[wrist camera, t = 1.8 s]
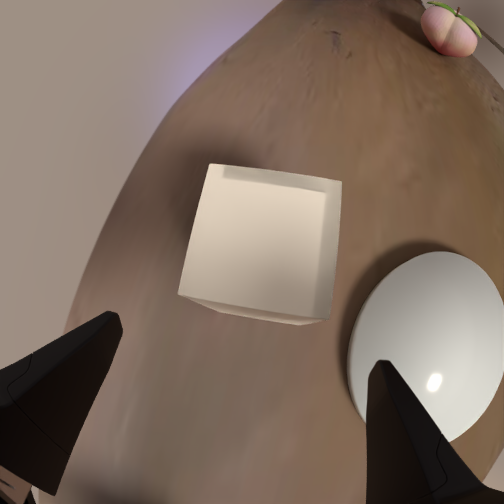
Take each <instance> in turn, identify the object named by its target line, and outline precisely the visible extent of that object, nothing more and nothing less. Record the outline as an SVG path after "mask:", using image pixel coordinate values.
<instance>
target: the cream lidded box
mask: <svg viewBox="0 0 504 504" xmlns="http://www.w3.org/2000/svg"><path fill="white" fill-rule="evenodd" d="M341 192H342V181H336V180H331V179H325V178H319V177H313V176H307V175H301V174H294V173H287V172H280V171H273V170H265V169H257V168H249V167H240V166H231V165H221V164H210V165H209V168H208V172H207V175H206V179H205V183H204V186H203V190H202V194H201V197H200V201H199V205H198V209H197V213H196V217H195V221H194V225H193V229H192V233H191V237H190V241H189V245H188V250H187V254H186V258H185V263H184V267H183V271H182V276H181V281H180V285H179V290H178V295H180V296H183V297H185V298H187V299H190V300H192V301H194V302H197V303H199V304H201V305H204V306H206V307H208V308H211V309H213V310H216V311H218V312H222V313H227V314H233V315H238V316H244V317H250V318H256V319H262V320H268V321H274V322H281V323H287V324H294V325H304V324H310V323H315V322H320V321H326V320H329V318H330V311H331V303H332V296H333V287H334V279H335V270H336V260H337V250H338V238H339V225H340V211H341Z"/></svg>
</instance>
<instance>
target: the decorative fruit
mask: <svg viewBox="0 0 504 504" xmlns="http://www.w3.org/2000/svg"><path fill="white" fill-rule="evenodd" d="M427 3H429V4H435V6H431V7H429V8H428V9H427V10H426V11H425V12H424V13H423V15H422V17H421V27H422V30H423V32H424V34H425V36H426V38H427V39H428V40H429V42H430V43H431V44H432V46H433V47H434V48H435V49H436V50H437V51H438V52H439V53H441V54H443V55H448V56H452V57H466V56H469V55H471V54H472V53H473V52H474V50H475V47H476V45H477V34H478V35H479V37H480V38H482V37H481V33H480V31H479V29H478V28H477V26H476V25H475V24H474V23H473V22H472V21H471V20H470V19H468V18H467V17H465V16H463V15H461V14H460V13H459V10H460V8H459V7H458V9H457V11H455V10H453V9H452V8H450V7H449V6H448V5H446V4H443V3H440V2H434V1H431V2H427ZM476 33H477V34H476Z"/></svg>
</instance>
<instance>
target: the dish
mask: <svg viewBox="0 0 504 504" xmlns="http://www.w3.org/2000/svg"><path fill="white" fill-rule="evenodd" d="M380 359H382V360H389V361H391V363H392V364H393V365H394V367H395V368H396V369H397V371H398V372H399V373H400V375H401V376H402V377H403V379H404V380H405V381H406V383H407V384H408V385H409V387H410V388H411V390H412V391H413V392H414V394H415V395H416V396H417V398H418V399H419V401H420V402H421V403H422V405H423V406H424V408H425V409H426V410H427V412H428V413H429V415H430V416H431V417H432V419H433V420H434V422H435V423H436V425H437V426H438V427H439V429H440V430H441V432H442V433H441V434H443V435H444V436H445V437H446V439H447V440H448V442H450V441H452V440H454V439H455V438H457V437H458V436H460V435H461V434H463V433H464V432H465V431H466V430H467V429H469V428H470V427H471V426H472V425H473V424H474V423H475V422H476V421H477V420H478V419H479V417H480V416H481V415H482V414H483V412H484V411H485V410H486V408H487V407H488V405H489V404H490V402H491V400H492V399H493V397H494V395H495V393H496V391H497V389H498V386H499V384H500V381H501V379H502V375H503V372H504V305H503V302H502V299H501V297H500V295H499V292H498V290H497V288H496V287H495V285H494V283H493V282H492V280H491V279H490V278H489V276H488V275H487V274H486V273H485V272H484V271H483V270H482V269H481V268H480V267H479V266H478V265H477V264H475V263H474V262H473V261H471V260H469V259H468V258H466V257H464V256H461V255H458V254H455V253H450V252H431V253H425V254H422V255H420V256H417V257H414V258H413V259H411V260H409V261H407V262H405V263H403V264H402V265H400V266H398V267H396V268H395V269H394V270H392V271H391V272H390V273H388V274H387V275H386V276H385V277H384V278H383V279H382V280H381V281H380V282H379V283H378V284H377V285H376V286H375V288H374V289H373V290H372V291H371V293H370V294H369V296H368V297H367V299H366V300H365V302H364V304H363V306H362V308H361V310H360V312H359V314H358V316H357V318H356V321H355V324H354V327H353V329H352V333H351V337H350V341H349V347H348V354H347V378H348V386H349V391H350V395H351V399H352V401H353V404H354V406H355V409H356V411H357V412H358V414H359V416H360V418H361V419H362V420H363V422H364V423H365V424H366V407H367V388H368V376H369V373H370V372H371V370H372V368H373V367H374V365H375V363H376V362H377V361H378V360H380Z"/></svg>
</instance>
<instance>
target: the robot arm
mask: <svg viewBox="0 0 504 504" xmlns="http://www.w3.org/2000/svg"><path fill="white" fill-rule="evenodd" d="M122 334H123V328H122V325H121V321H120V318H119V315H118V314H117V313H115V312H112V311H106V312H104V313H102V314H101V315H99V316H97V317H95V318H93V319H92V320H90V321H88V322H86V323H84V324H83V325H81V326H79V327H77V328H75V329H74V330H72V331H70V332H68V333H67V334H65V335H63V336H61V337H60V338H58V339H56V340H54V341H52V342H51V343H49V344H47V345H45V346H44V347H42V348H40V349H38V350H37V351H35V352H33V354H32V353H31V354H30V355H28V356H26V357H24V358H23V359H21V360H19V361H17V362H15V363H13V364H11V365H9V366H7V367H5V368H3V369H1V370H0V504H36V503H35V500H34V498H33V494H32V491H31V487H32V485H33V486H35V487H37V488H39V489H41V490H42V491H44V492H46V493H48V494H50V495H52V496H55V494H56V492H57V489H58V486H59V484H60V481H61V478H62V476H63V473H64V470H65V468H66V465H67V463H68V460H69V458H70V455H71V452H72V450H73V447H74V445H75V443H76V440H77V438H78V436H79V433H80V431H81V429H82V426H83V424H84V422H85V420H86V417H87V415H88V413H89V411H90V409H91V406H92V404H93V402H94V400H95V398H96V396H97V394H98V392H99V389H100V387H101V385H102V383H103V381H104V379H105V377H106V375H107V373H108V371H109V369H110V366H111V364H112V361H113V358H114V356H115V353H116V350H117V348H118V345H119V342H120V340H121V337H122ZM441 433H442V432H441V430H440V429H439V427H438V426H437V425H436V423H435V422H434V420H433V419H432V417H431V416H430V415H429V413H428V412H427V410H426V409H425V408H424V406H423V405H422V403H421V402H420V401H419V399H418V398H417V396H416V395H415V394H414V392H413V391H412V390H411V388H410V387H409V385H408V384H407V383H406V381H405V380H404V379H403V377H402V376H401V375H400V373H399V372H398V371H397V369H396V368H395V367H394V365H393V364H392V363H391V361H389V360H382V359H380V360H378V361H377V362H376V363H375V365H374V367H373V368H372V370H371V372H370V373H369V376H368V388H367V407H366V438H367V488H366V504H504V492H502V491H498V490H495V489H492V488H489V487H487V486H485V485H484V484H483V483H482V482H480V480H479V479H478V478H477V477H476V476H475V475H474V473H473V472H472V471H471V470H470V469H469V467H468V466H467V465H466V464H465V463H464V461H463V460H462V459H461V458H460V457H459V455H458V454H457V453H456V452H455V450H454V449H453V447H452V446H451V445H450V443H449V442H448V440H447V439H446V437H445V436H444V435H443V434H441Z"/></svg>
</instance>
